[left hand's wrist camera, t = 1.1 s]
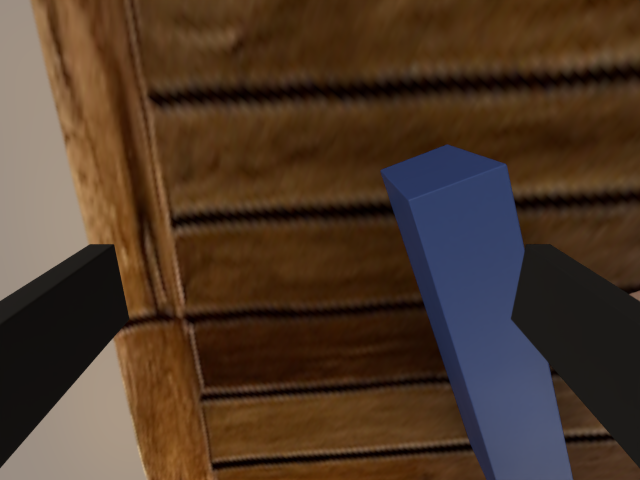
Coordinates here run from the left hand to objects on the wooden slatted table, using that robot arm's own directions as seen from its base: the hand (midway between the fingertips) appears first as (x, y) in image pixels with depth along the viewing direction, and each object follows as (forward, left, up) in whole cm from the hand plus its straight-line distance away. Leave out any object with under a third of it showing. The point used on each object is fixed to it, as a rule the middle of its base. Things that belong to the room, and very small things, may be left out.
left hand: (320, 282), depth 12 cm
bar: (-11, +13, -17) cm, 23 cm away
